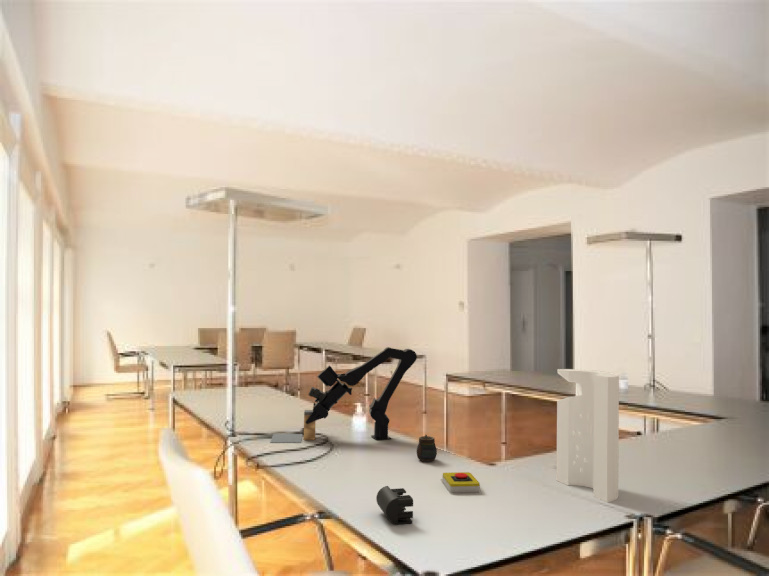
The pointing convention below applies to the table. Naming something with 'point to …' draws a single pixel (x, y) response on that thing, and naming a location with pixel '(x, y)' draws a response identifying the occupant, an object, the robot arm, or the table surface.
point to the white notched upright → (589, 433)
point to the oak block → (309, 426)
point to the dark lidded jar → (426, 449)
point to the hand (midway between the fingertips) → (306, 421)
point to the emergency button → (461, 483)
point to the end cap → (395, 505)
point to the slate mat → (286, 438)
